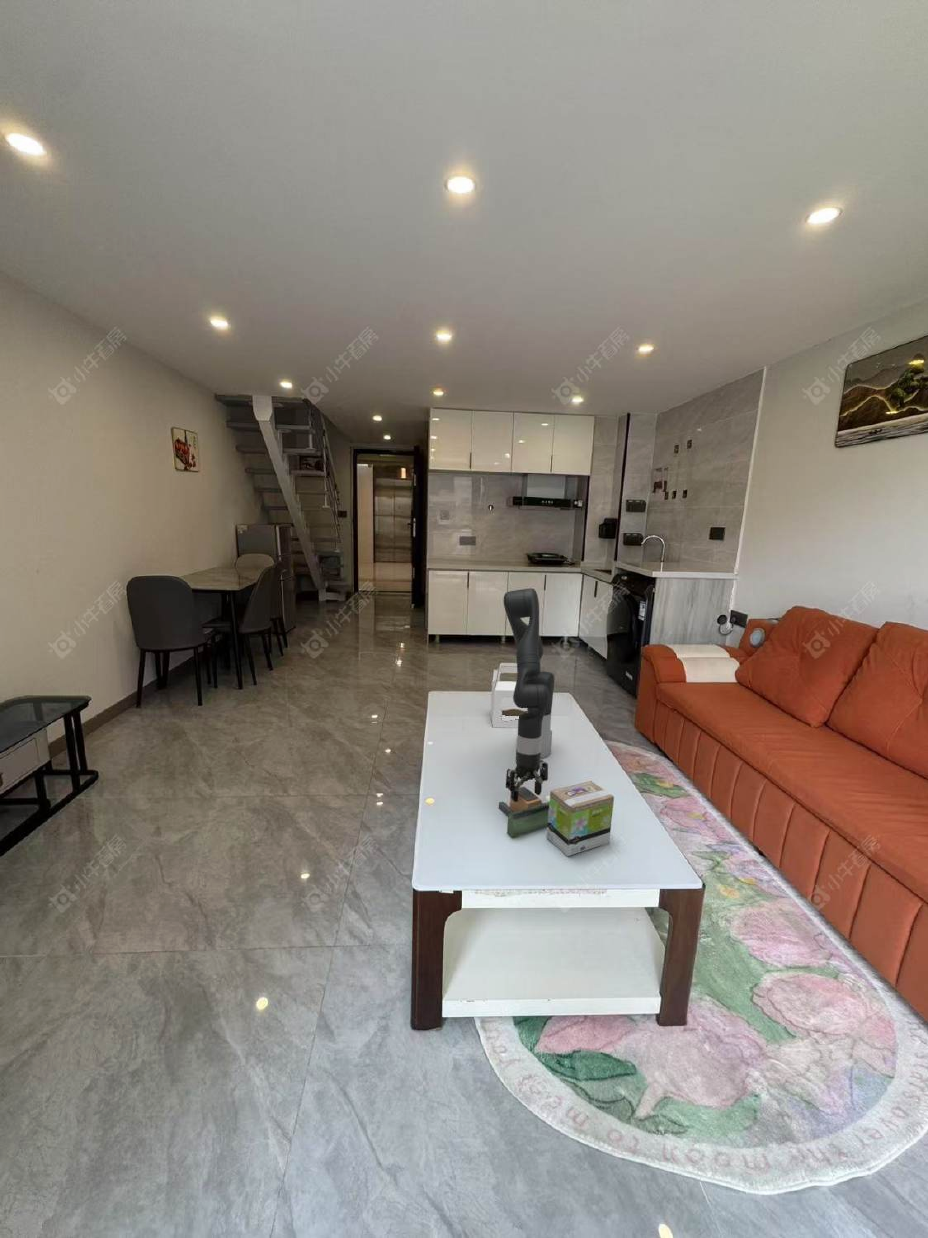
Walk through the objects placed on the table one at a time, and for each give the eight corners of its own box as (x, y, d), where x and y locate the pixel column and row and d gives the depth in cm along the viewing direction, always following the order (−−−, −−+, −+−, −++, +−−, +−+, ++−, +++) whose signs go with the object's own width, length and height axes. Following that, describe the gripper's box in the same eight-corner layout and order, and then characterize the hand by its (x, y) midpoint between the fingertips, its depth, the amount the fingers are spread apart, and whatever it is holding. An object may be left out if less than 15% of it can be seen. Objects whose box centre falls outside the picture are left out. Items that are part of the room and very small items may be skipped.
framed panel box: (522, 803, 159) (523, 784, 158) (540, 818, 152) (541, 798, 150) (509, 807, 157) (510, 788, 156) (527, 822, 149) (528, 802, 148)
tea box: (568, 858, 133) (572, 807, 130) (545, 838, 142) (548, 789, 139) (610, 843, 140) (615, 795, 137) (586, 824, 149) (590, 778, 146)
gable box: (492, 728, 219) (494, 666, 215) (490, 716, 232) (492, 658, 228) (542, 729, 220) (545, 667, 215) (537, 717, 233) (540, 659, 228)
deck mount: (541, 795, 164) (543, 775, 163) (573, 819, 151) (574, 797, 150) (485, 812, 153) (485, 790, 152) (513, 839, 140) (514, 816, 139)
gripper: (539, 739, 157) (537, 786, 160) (502, 748, 150) (500, 797, 153) (555, 748, 151) (552, 797, 154) (516, 758, 144) (514, 809, 147)
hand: (526, 797), depth 153 cm, fingers open, 8 cm apart
